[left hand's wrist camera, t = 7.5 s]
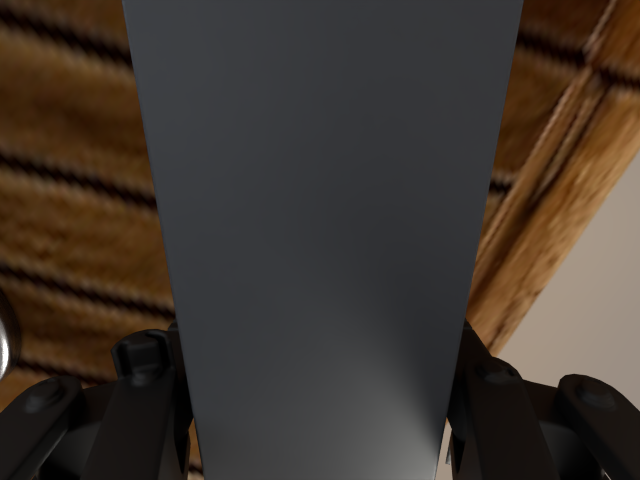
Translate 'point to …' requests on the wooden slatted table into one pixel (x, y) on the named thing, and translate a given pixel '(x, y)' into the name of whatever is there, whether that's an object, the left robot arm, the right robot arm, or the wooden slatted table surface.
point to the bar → (321, 218)
